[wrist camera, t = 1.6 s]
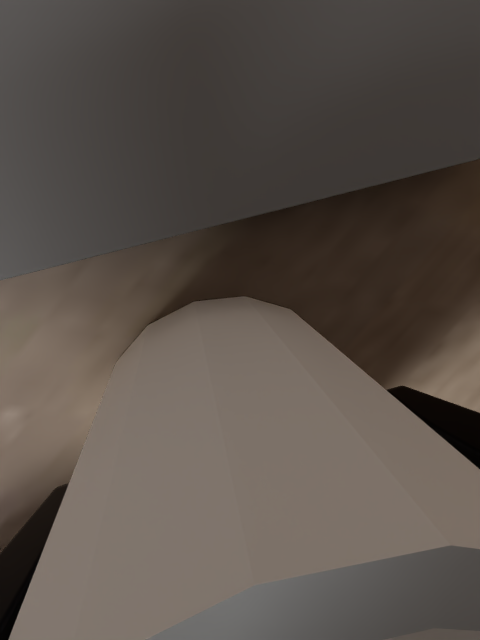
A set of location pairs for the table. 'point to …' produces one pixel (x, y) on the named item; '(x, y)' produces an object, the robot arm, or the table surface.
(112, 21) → the serving board
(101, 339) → the table surface
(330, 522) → the white cup
